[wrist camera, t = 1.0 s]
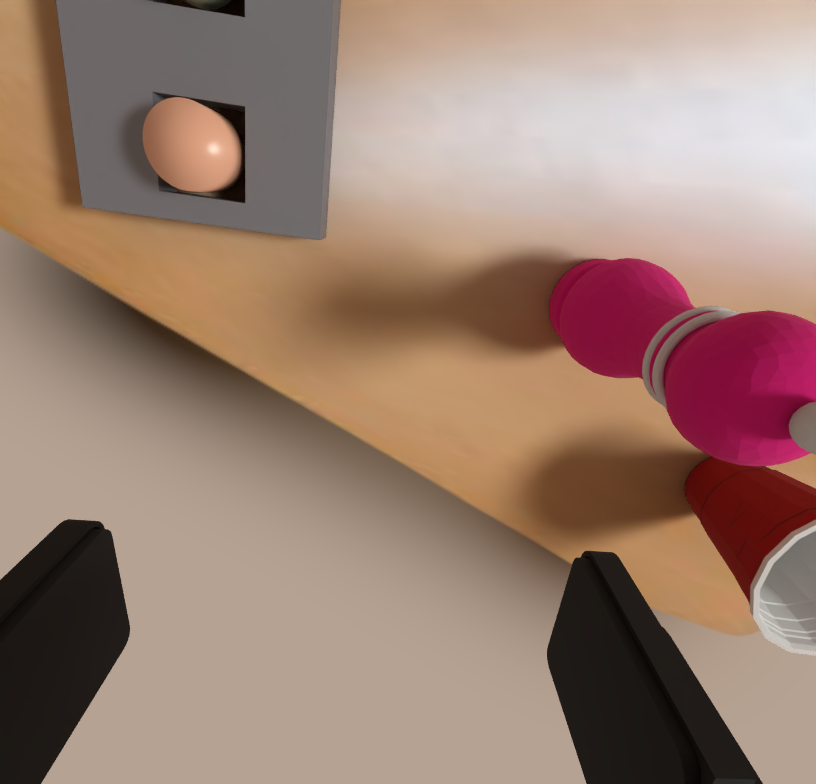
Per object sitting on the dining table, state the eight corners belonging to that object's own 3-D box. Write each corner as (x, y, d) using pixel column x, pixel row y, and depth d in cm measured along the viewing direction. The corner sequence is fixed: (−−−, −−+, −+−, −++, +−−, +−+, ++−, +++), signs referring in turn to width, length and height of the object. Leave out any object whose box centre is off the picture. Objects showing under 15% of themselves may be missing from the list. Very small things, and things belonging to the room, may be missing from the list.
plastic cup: (803, 420, 36) (980, 516, 25) (764, 529, 40) (902, 653, 29) (667, 424, 36) (786, 522, 25) (643, 533, 40) (735, 658, 29)
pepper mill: (546, 361, 34) (721, 553, 15) (536, 264, 31) (735, 355, 13) (644, 341, 33) (945, 514, 15) (642, 240, 31) (1011, 300, 12)
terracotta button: (166, 102, 26) (138, 90, 23) (245, 114, 26) (227, 104, 23) (171, 186, 27) (146, 185, 25) (245, 197, 28) (228, 196, 25)
